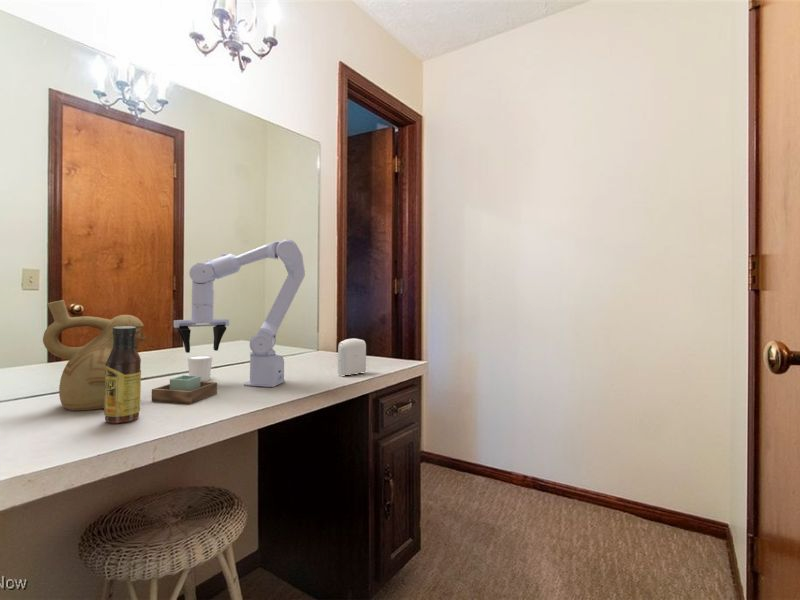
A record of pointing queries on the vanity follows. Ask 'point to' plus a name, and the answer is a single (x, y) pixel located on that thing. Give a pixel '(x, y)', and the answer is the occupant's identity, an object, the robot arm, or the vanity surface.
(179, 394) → the wooden tray
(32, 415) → the vanity surface
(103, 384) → the ceramic vessel
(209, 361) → the white rounded block
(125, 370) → the sauce bottle
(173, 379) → the mint green block
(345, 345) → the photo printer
